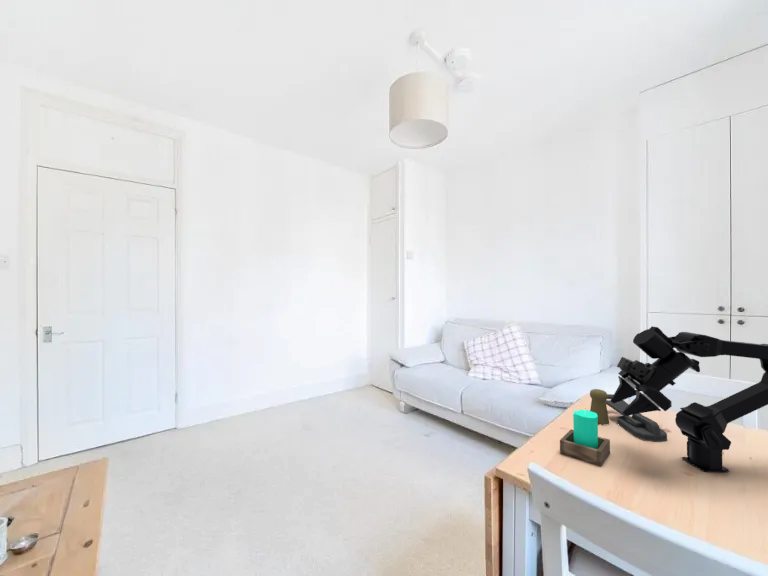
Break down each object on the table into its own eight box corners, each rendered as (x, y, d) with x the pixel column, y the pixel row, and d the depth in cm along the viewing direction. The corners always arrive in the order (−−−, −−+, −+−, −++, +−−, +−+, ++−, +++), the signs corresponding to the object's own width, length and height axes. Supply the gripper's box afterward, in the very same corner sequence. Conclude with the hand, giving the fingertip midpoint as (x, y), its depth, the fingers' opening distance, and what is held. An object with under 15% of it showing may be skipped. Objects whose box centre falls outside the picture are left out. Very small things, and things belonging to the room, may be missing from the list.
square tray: (610, 453, 94) (609, 439, 94) (601, 466, 87) (601, 452, 87) (571, 441, 101) (570, 429, 101) (560, 453, 94) (559, 440, 94)
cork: (610, 421, 116) (610, 389, 116) (607, 426, 111) (607, 393, 111) (590, 416, 120) (590, 386, 120) (586, 421, 115) (586, 390, 115)
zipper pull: (617, 393, 125) (672, 420, 100) (617, 411, 125) (673, 442, 100) (593, 393, 125) (642, 420, 100) (593, 411, 125) (642, 442, 100)
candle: (592, 445, 96) (591, 404, 96) (602, 456, 90) (601, 412, 90) (570, 444, 97) (569, 403, 97) (578, 454, 91) (577, 411, 91)
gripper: (625, 341, 99) (584, 376, 102) (654, 355, 81) (603, 397, 84) (658, 369, 96) (615, 404, 100) (695, 389, 78) (641, 431, 82)
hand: (617, 407), depth 92 cm, fingers open, 9 cm apart
